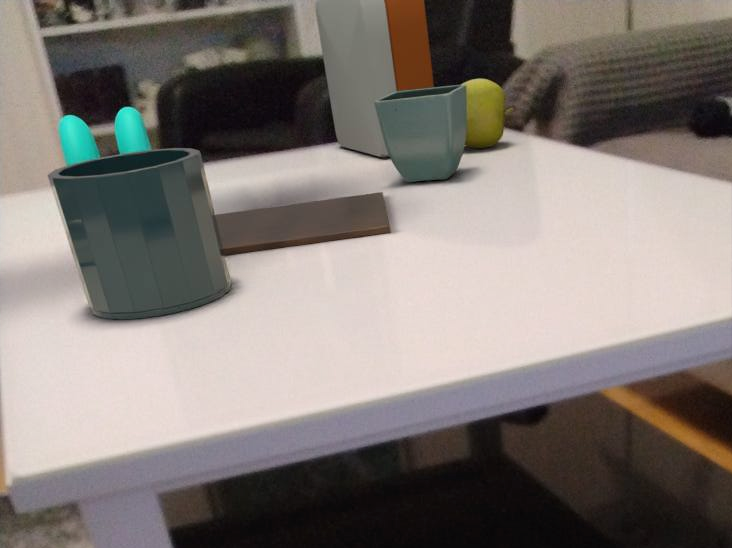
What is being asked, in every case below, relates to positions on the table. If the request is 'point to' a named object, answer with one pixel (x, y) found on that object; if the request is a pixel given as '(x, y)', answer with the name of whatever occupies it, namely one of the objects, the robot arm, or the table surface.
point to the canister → (142, 232)
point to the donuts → (82, 143)
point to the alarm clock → (371, 62)
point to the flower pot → (424, 130)
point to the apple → (484, 113)
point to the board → (303, 223)
